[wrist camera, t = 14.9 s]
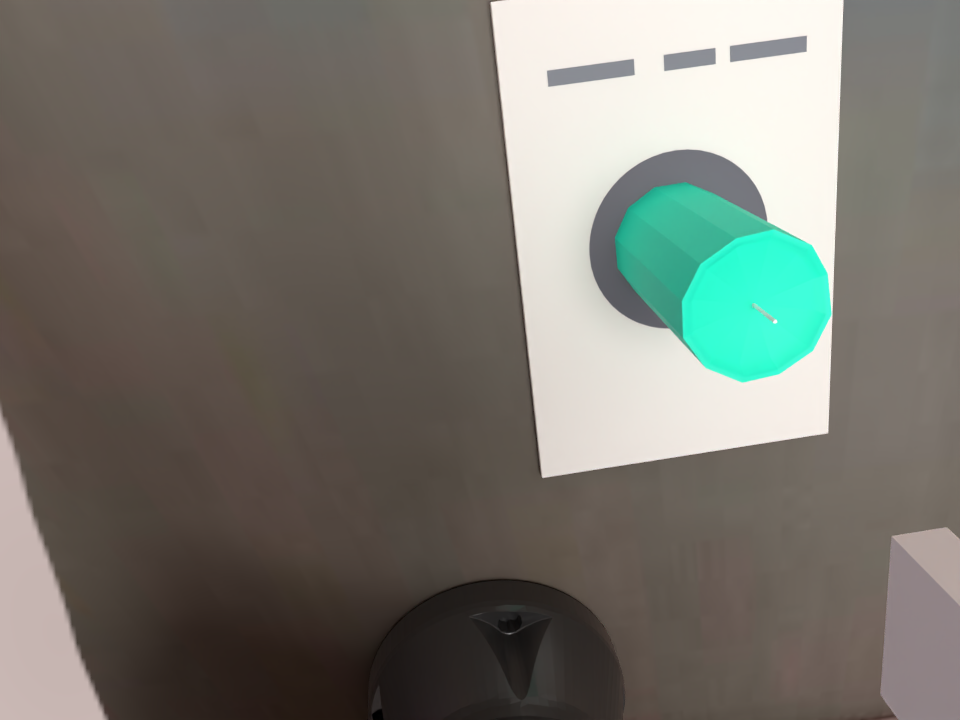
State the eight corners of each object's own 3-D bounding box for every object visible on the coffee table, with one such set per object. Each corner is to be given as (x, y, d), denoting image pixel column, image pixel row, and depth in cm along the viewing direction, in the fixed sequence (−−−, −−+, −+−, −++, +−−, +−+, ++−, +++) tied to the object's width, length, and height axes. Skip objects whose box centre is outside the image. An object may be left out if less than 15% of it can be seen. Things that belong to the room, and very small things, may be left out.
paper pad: (823, 429, 48) (828, 433, 47) (540, 473, 47) (542, 478, 46) (839, -44, 39) (845, -45, 38) (489, 2, 38) (491, 2, 37)
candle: (718, 305, 44) (831, 402, 33) (604, 296, 43) (680, 391, 32) (744, 188, 42) (874, 248, 30) (625, 175, 41) (714, 233, 30)
